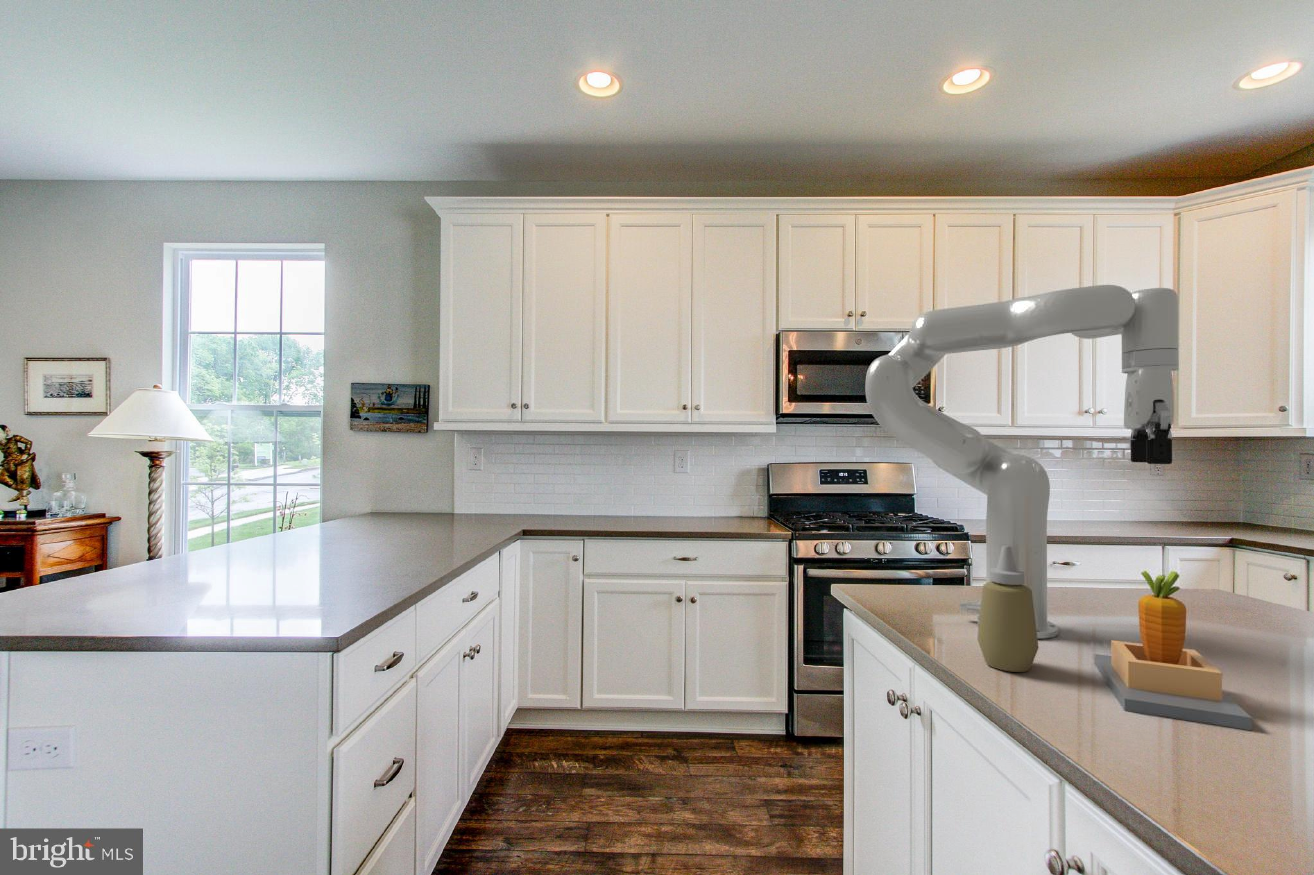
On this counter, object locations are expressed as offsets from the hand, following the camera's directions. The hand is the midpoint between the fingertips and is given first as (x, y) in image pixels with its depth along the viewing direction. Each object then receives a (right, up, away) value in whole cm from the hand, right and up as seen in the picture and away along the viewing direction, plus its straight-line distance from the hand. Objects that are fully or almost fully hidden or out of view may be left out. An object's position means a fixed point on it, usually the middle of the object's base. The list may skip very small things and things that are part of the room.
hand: (1150, 463), depth 103 cm
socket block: (-16, -30, -21) cm, 40 cm away
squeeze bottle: (-31, -30, -12) cm, 45 cm away
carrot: (-16, -29, -21) cm, 39 cm away
